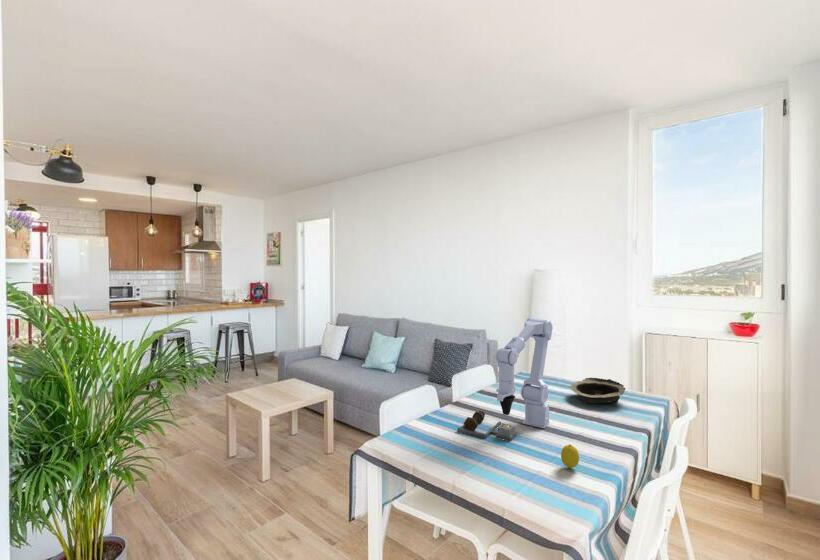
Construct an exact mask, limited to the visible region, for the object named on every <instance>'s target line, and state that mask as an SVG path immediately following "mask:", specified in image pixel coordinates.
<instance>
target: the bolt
mask: <svg viewBox="0 0 820 560" xmlns="http://www.w3.org/2000/svg"><path fill="white" fill-rule="evenodd" d="M485 415H486V414H485V412H483V410H482V411H481V410H479V411H475V412H474V414H473V415H472V417H469V416H467V418H465V420H464V421H463V425H464V426H465V429H468V430H472V431H476V430H477V428H478V427H479V424H482V422H483V421H484V419H485ZM479 422H480V423H479Z"/></svg>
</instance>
